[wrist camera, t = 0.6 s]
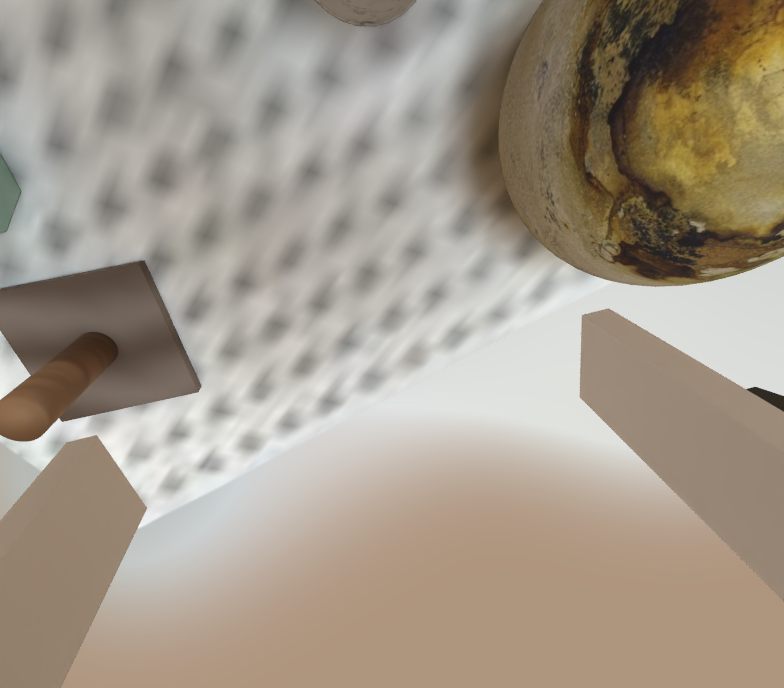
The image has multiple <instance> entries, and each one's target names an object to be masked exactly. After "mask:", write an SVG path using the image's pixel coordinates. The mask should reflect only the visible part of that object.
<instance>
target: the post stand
mask: <svg viewBox="0 0 784 688" xmlns="http://www.w3.org/2000/svg"><path fill="white" fill-rule="evenodd" d="M0 331H1V332H2V334H3V335H4V337H5V338H6V340H7V341H8V342H9V344H10V345H11V347H12V348H13V350H14V351H15V353H16V354H17V356H18V357H19V359H20V360H21V362H22V363H23V365H24V366H25V368H26V369H27V371H28V372H29V374H30V375H31V376H30V377H29V378H28V379H26V380H25V381H24V382H23V383H21V384H20V385H19V386H18V387H16V388H15V389H14V390H13V391H11V392H10V393H9V394H8V395H6V396H5V397H4V398H3V399H1V400H0V435H2V436H3V437H6V438H8V439H11V440H15V441H32V440H35V439H37V438H39V437H41V436H42V435H43V434H44V433H45V432H46V431H47V430H48V429H49V427H50V426H51V425H52V424H53V423H54V422H55V421H56V420H57V419H58V418H60V420H61V421H62V422H63V421H68V420H73V419H77V418H82V417H86V416H91V415H96V414H100V413H105V412H109V411H114V410H119V409H123V408H128V407H132V406H137V405H142V404H146V403H151V402H155V401H160V400H165V399H169V398H174V397H178V396H183V395H187V394H192V393H197V392H199V390H200V388H201V385H200V383H199V380H198V378H197V376H196V374H195V372H194V369H193V367H192V365H191V363H190V361H189V358H188V356H187V354H186V352H185V350H184V347H183V345H182V343H181V341H180V338H179V336H178V334H177V332H176V330H175V327H174V325H173V323H172V321H171V319H170V316H169V314H168V312H167V310H166V308H165V305H164V303H163V301H162V299H161V297H160V294H159V292H158V290H157V288H156V286H155V283H154V281H153V279H152V277H151V275H150V272H149V270H148V268H147V266H146V264H145V261H139V262H134V263H129V264H124V265H119V266H114V267H109V268H104V269H99V270H93V271H88V272H83V273H78V274H73V275H68V276H63V277H58V278H53V279H48V280H43V281H38V282H33V283H27V284H22V285H17V286H12V287H7V288H2V289H0Z"/></svg>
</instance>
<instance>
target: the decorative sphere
mask: <svg viewBox="0 0 784 688" xmlns="http://www.w3.org/2000/svg"><path fill="white" fill-rule="evenodd" d="M498 140H499V155H500V162H501V168H502V173H503V177H504V181H505V184H506V187H507V190H508V193H509V196H510V198H511V201H512V203H513V205H514V207H515V209H516V211H517V212H518V214H519V216H520V217H521V219H522V221H523V222H524V224H525V225H526V226H527V228H528V229H529V230H530V232H531V233H532V234H533V235H534V236H535V237H536V238H537V239H538V240H539V241H540V242H541V243H542V244H543V245H544V246H545V247H546V248H547V249H548V250H549V251H551V252H552V253H553V254H554V255H556V256H557V257H559V258H560V259H562V260H563V261H565V262H567V263H568V264H570V265H572V266H573V267H575V268H577V269H579V270H582V271H584V272H586V273H589V274H591V275H594V276H597V277H600V278H603V279H606V280H610V281H615V282H619V283H625V284H630V285H641V286H655V287H656V286H682V285H689V284H696V283H703V282H709V281H714V280H718V279H722V278H726V277H729V276H733V275H737V274H740V273H743V272H746V271H749V270H752V269H755V268H757V267H760V266H762V265H764V264H767V263H769V262H772V261H774V260H776V259H779V258H781V257H783V256H784V0H543V2H542V3H541V5H540V6H539V8H538V9H537V11H536V13H535V14H534V16H533V18H532V20H531V22H530V23H529V25H528V27H527V29H526V31H525V33H524V35H523V37H522V39H521V41H520V44H519V46H518V48H517V50H516V53H515V56H514V59H513V61H512V64H511V67H510V70H509V73H508V77H507V80H506V84H505V87H504V92H503V97H502V102H501V108H500V117H499V134H498Z"/></svg>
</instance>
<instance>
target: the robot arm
mask: <svg viewBox="0 0 784 688" xmlns="http://www.w3.org/2000/svg"><path fill="white" fill-rule="evenodd" d="M581 333H582V334H581V335H582V336H581V369H580V398H581V399H582V400H583V401H584V402H585V403H586V404H587V405H588V406H589V407H590V408H591V409H592V410H593V411H594V412H595V413H596V414H597V415H598V416H599V417H600V418H601V419H602V420H603V421H604V422H605V423H606V424H607V425H608V426H609V427H610V428H611V429H612V430H613V431H614V432H615V433H616V434H617V435H618V436H619V437H620V438H621V439H622V440H623V441H624V442H625V443H626V444H627V445H628V446H629V447H630V448H631V449H632V450H633V451H634V452H635V453H636V454H637V455H638V456H639V457H640V458H641V459H642V460H643V461H644V462H645V463H646V464H647V465H648V466H649V467H650V468H651V469H652V470H653V471H654V472H655V473H656V474H657V475H658V476H659V477H660V478H661V479H662V480H663V481H664V482H665V483H666V484H667V485H668V486H669V487H670V488H671V489H672V490H673V491H674V492H675V493H676V494H677V495H678V496H679V497H680V498H681V499H682V500H683V501H684V502H685V503H686V504H687V505H688V506H689V507H690V508H691V509H692V510H693V511H694V512H695V513H696V514H697V515H698V516H699V517H700V518H701V519H702V520H703V521H704V522H705V523H706V524H707V525H708V526H709V527H710V528H711V529H712V530H713V531H714V532H715V533H716V534H717V535H718V536H719V537H720V538H721V539H722V540H723V541H724V542H725V543H726V544H727V545H728V546H729V547H730V548H731V549H732V550H733V551H734V552H735V553H736V554H737V555H738V556H739V557H740V558H741V559H742V560H743V561H744V562H745V563H746V564H747V565H748V566H749V567H750V568H751V569H752V570H753V571H754V572H755V573H756V574H757V575H758V576H759V577H760V578H761V579H762V580H763V581H764V582H765V583H766V584H767V585H768V586H769V587H770V588H771V589H772V590H773V591H774V592H775V593H776V594H777V595H778V596H779V597H780V598H781V599H782V600H783V601H784V396H782V395H778V394H775V393H772V392H770V391H767V390H764V389H760V388H758V387H753V388H749V389H744V388H743V387H741V386H739V385H737V384H736V383H734V382H732V381H731V380H729V379H727V378H725V377H724V376H722V375H721V374H719V373H717V372H715V371H714V370H712V369H710V368H709V367H707V366H705V365H704V364H702V363H700V362H698V361H697V360H695V359H693V358H692V357H690V356H688V355H687V354H685V353H683V352H682V351H680V350H678V349H676V348H675V347H673V346H671V345H670V344H668V343H666V342H665V341H663V340H661V339H659V338H658V337H656V336H654V335H653V334H651V333H649V332H648V331H646V330H644V329H643V328H641V327H639V326H637V325H636V324H634V323H632V322H631V321H629V320H627V319H625V318H624V317H622V316H621V315H619V314H617V313H615V312H614V311H612V310H610V309H605V310H601V311H597V312H593V313H589V314H585V315H582V332H581ZM146 509H147V507H146V506H145V505H144V503H143V502H142V500H141V499H140V497H139V496H138V494H137V493H136V492H135V490H134V489H133V487H132V486H131V484H130V483H129V481H128V480H127V478H126V477H125V476H124V474H123V473H122V471H121V470H120V468H119V467H118V465H117V464H116V463H115V461H114V460H113V458H112V457H111V455H110V454H109V452H108V451H107V450H106V448H105V447H104V445H103V444H102V442H101V441H100V439H99V438H98V436H97V435H95V436H91V437H87V438H83V439H79V440H75V441H71V442H67V443H66V444H65V445H64V446H63V447H62V449H61V450H60V451H59V452H58V453H57V455H56V456H55V457H54V458H53V459H52V460H51V462H50V463H49V464H48V465H47V466H46V468H45V469H44V470H43V471H42V472H41V473H40V475H39V476H38V477H37V478H36V479H35V481H34V482H33V483H32V484H31V485H30V487H29V488H28V489H27V490H26V491H25V492H24V493H23V495H22V496H21V497H20V498H19V499H18V501H17V502H16V503H15V504H14V505H13V506H12V508H11V509H10V510H9V511H8V512H7V513H6V515H5V516H4V517H3V518H2V519H1V521H0V688H61V686H62V684H63V682H64V680H65V678H66V676H67V674H68V672H69V670H70V667H71V666H72V664H73V661H74V659H75V657H76V655H77V653H78V651H79V649H80V647H81V645H82V643H83V640H84V638H85V636H86V634H87V632H88V630H89V628H90V626H91V624H92V622H93V620H94V618H95V615H96V613H97V611H98V609H99V607H100V605H101V603H102V601H103V599H104V597H105V594H106V592H107V590H108V588H109V586H110V584H111V582H112V580H113V578H114V576H115V574H116V572H117V570H118V567H119V565H120V563H121V561H122V559H123V557H124V555H125V553H126V551H127V549H128V547H129V545H130V542H131V540H132V538H133V536H134V534H135V532H136V530H137V528H138V526H139V524H140V522H141V520H142V517H143V515H144V513H145V511H146Z"/></svg>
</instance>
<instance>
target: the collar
mask: <svg viewBox="0 0 784 688" xmlns="http://www.w3.org/2000/svg"><path fill="white" fill-rule="evenodd" d="M20 193H21V190H20V188H19V187H18V185H17V183H16V181H15V179H14V177H13V176H12V174H11V172H10V170H9V168H8V167H7V165H6V163H5V161H4V159H3V158H2V156H1V154H0V233H3V232H6V231H7V228H8V225H9V223H10V220H11V217H12V214H13V212H14V209H15V206H16V204H17V201H18V198H19V195H20Z"/></svg>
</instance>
